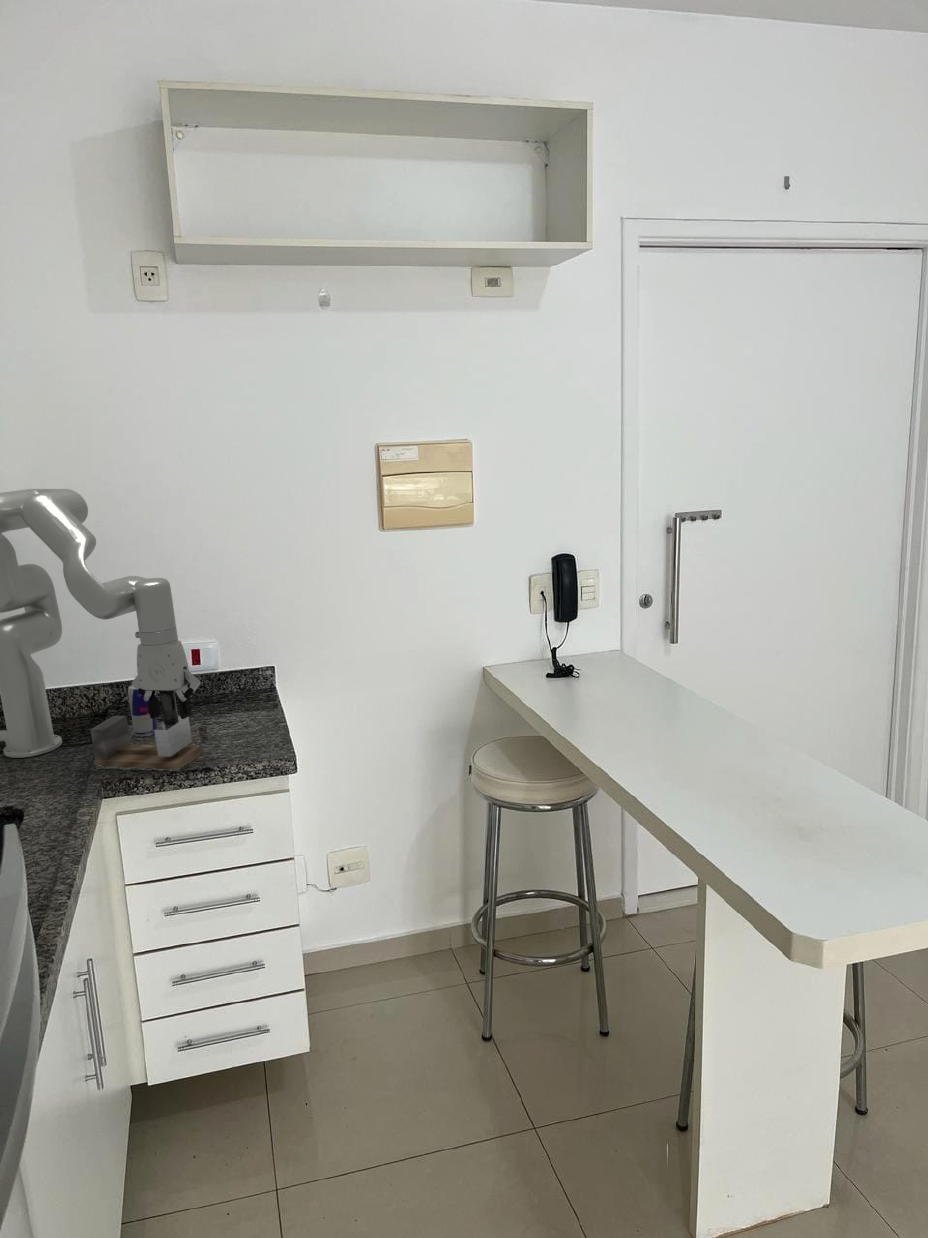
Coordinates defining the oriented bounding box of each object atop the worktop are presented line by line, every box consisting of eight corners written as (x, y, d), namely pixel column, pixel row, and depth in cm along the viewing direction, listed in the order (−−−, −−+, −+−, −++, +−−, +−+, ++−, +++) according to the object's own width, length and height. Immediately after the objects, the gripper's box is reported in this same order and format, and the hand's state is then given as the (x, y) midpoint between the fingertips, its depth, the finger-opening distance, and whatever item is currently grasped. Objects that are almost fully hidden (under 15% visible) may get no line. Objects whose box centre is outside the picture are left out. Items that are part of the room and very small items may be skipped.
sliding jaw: (158, 756, 201) (148, 693, 197) (179, 741, 209) (171, 681, 206) (170, 756, 200) (161, 694, 197) (192, 741, 208) (183, 681, 205)
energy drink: (150, 737, 222) (143, 689, 220) (130, 737, 223) (122, 689, 221) (162, 729, 227) (155, 682, 225) (142, 729, 229) (134, 682, 226)
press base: (95, 769, 204) (88, 730, 202) (121, 752, 214) (115, 714, 212) (178, 771, 200) (172, 731, 198) (201, 754, 209) (195, 715, 207)
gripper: (112, 641, 197) (125, 722, 201) (186, 641, 193) (198, 723, 197) (132, 632, 204) (144, 710, 208) (204, 631, 200) (215, 711, 204)
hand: (170, 716), depth 203 cm, fingers open, 6 cm apart
